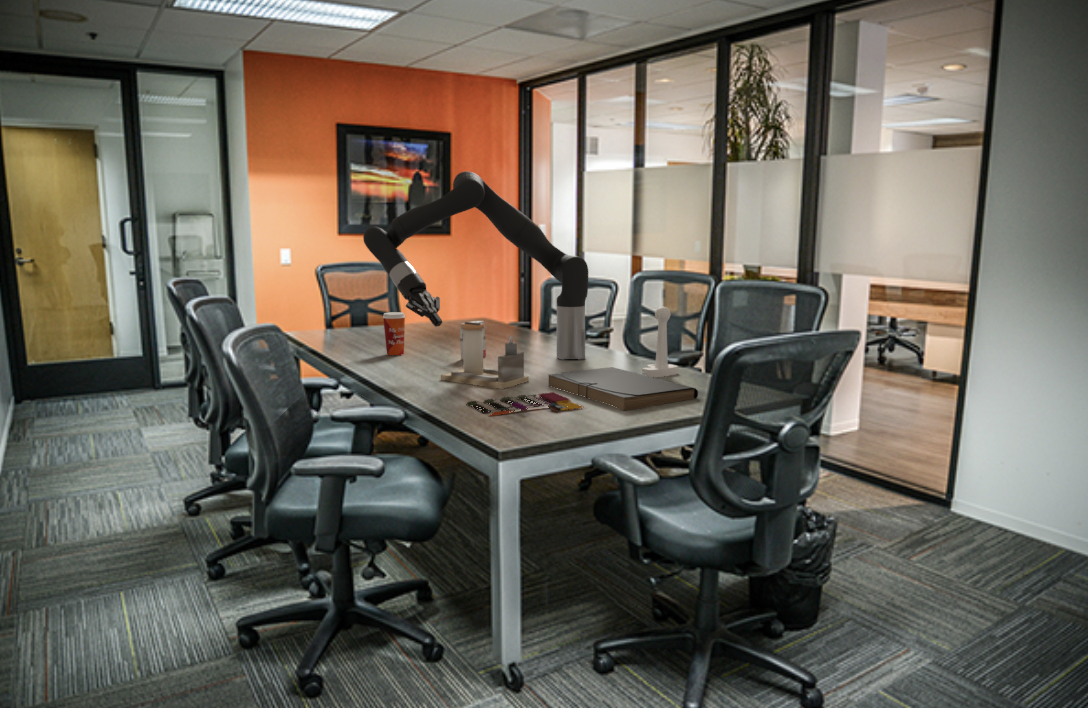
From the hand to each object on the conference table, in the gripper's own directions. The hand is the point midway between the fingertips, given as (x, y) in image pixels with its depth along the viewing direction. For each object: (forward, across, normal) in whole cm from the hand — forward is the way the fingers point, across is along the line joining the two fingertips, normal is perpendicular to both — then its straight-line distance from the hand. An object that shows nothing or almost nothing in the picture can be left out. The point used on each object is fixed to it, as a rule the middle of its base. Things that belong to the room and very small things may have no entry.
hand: (439, 324), depth 221 cm
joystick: (+48, -36, +26) cm, 65 cm away
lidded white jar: (+18, 0, 0) cm, 18 cm away
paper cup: (-15, -17, -36) cm, 42 cm away
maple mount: (+22, 0, +1) cm, 22 cm away
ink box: (+4, -26, -17) cm, 32 cm away
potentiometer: (+23, 0, +14) cm, 27 cm away
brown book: (+50, -10, +28) cm, 58 cm away
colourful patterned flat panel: (+42, +17, +20) cm, 50 cm away
